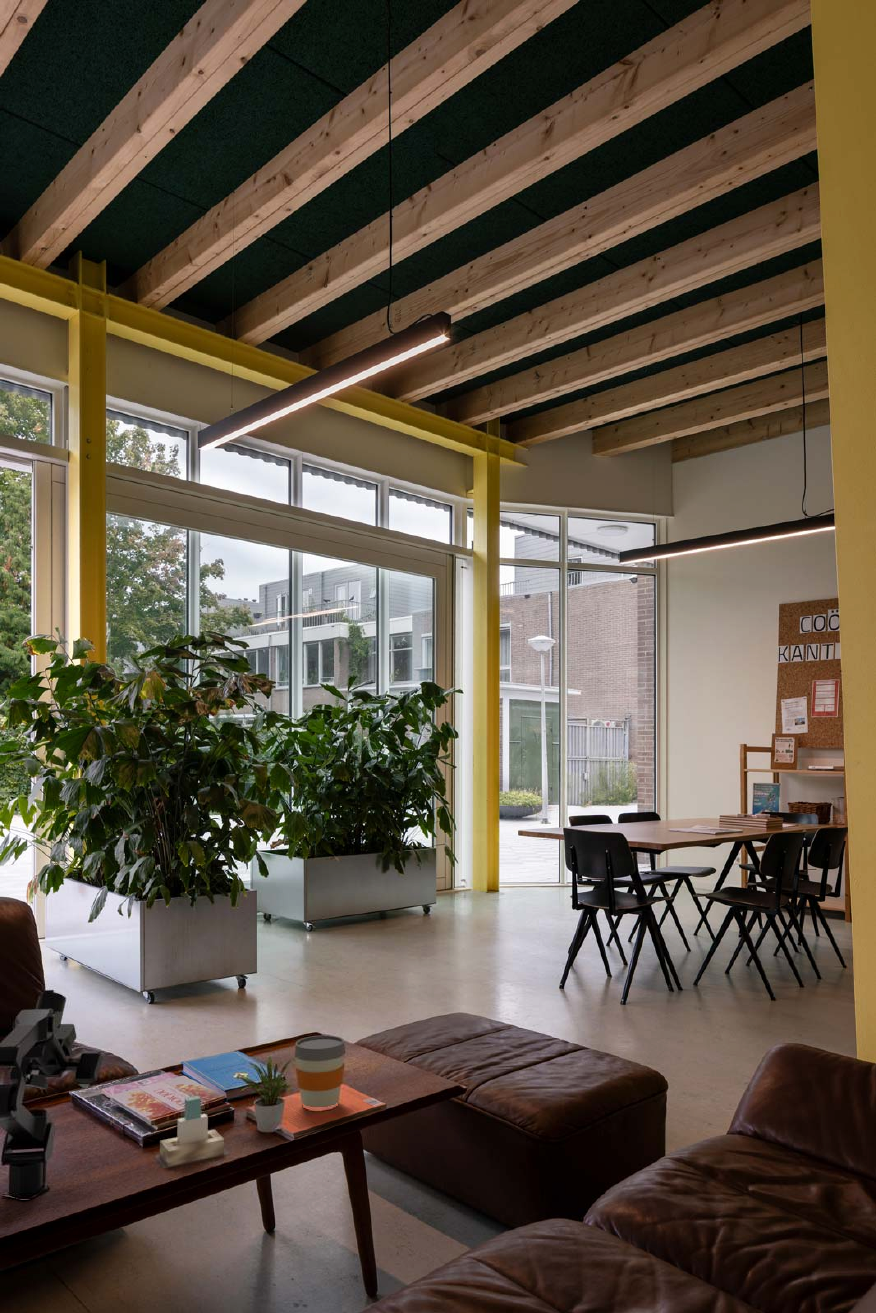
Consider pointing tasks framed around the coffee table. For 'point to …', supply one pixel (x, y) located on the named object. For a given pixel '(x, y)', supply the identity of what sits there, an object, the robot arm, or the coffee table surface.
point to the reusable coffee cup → (320, 1069)
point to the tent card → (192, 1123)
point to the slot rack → (191, 1149)
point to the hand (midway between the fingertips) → (67, 1086)
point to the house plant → (268, 1096)
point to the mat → (186, 1162)
